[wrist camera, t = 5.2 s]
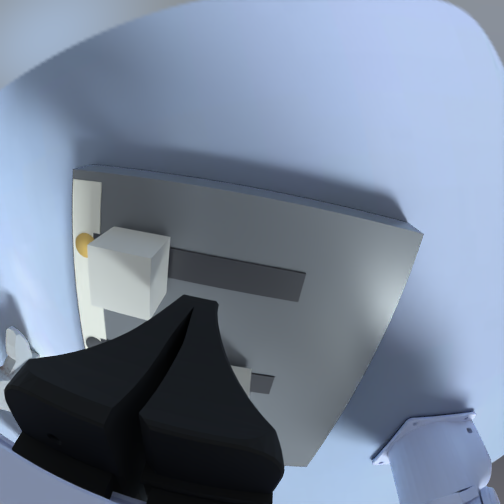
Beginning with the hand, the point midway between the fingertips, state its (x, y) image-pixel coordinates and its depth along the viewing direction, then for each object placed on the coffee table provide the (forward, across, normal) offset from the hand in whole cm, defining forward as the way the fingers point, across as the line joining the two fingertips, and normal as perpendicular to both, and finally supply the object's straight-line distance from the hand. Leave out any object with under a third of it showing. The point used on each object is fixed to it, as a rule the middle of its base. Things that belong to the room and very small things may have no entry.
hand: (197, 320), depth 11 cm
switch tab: (+4, +4, 0) cm, 5 cm away
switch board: (+6, -1, +7) cm, 9 cm away
